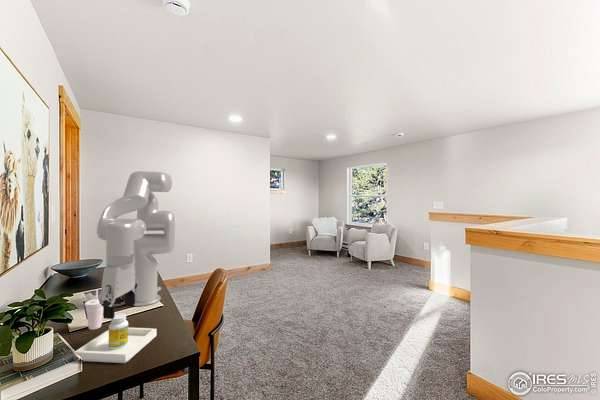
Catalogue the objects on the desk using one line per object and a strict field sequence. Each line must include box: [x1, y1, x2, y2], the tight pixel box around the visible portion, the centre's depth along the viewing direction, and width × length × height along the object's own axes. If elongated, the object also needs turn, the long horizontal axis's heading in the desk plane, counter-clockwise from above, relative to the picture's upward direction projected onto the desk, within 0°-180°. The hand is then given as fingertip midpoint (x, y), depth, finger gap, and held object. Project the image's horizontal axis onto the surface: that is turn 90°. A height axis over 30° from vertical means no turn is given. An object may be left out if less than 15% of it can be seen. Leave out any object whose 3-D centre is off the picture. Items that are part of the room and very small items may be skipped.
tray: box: [74, 326, 158, 364], centre depth 89 cm, size 16×16×2 cm
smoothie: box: [84, 289, 103, 331], centre depth 102 cm, size 6×6×14 cm
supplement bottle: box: [108, 313, 129, 349], centre depth 89 cm, size 5×5×10 cm
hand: (120, 311), depth 89 cm, fingers open, 9 cm apart
